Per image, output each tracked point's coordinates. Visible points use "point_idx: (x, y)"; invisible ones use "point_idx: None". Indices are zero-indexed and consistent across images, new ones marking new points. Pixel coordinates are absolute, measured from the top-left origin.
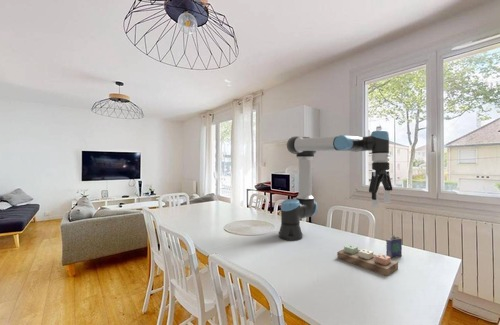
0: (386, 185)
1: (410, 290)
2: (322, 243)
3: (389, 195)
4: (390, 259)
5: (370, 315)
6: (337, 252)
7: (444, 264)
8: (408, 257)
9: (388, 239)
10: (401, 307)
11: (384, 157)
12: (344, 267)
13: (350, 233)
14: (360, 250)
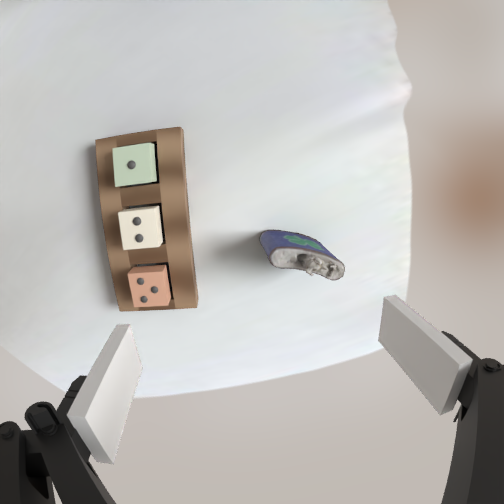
0: (457, 457)
1: None
2: (185, 17)
3: (414, 383)
4: (168, 302)
5: (4, 340)
6: (95, 140)
7: (340, 345)
8: None
9: (278, 257)
10: (54, 363)
11: None
12: (68, 204)
13: (389, 30)
14: (128, 212)
